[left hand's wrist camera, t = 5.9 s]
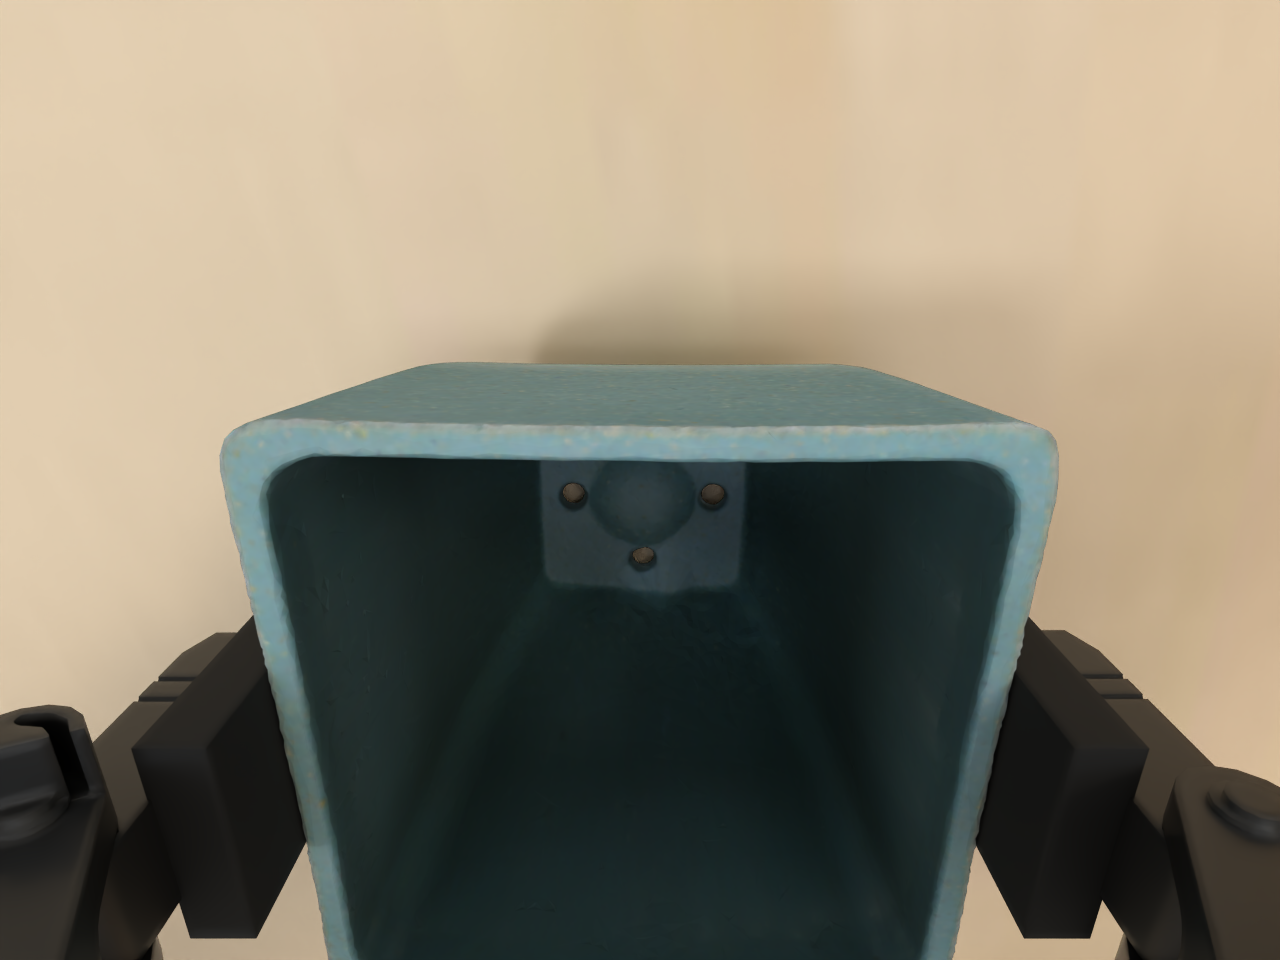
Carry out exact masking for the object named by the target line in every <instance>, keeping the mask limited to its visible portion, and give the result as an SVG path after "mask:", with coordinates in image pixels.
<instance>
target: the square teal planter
mask: <svg viewBox="0 0 1280 960" xmlns="http://www.w3.org/2000/svg"><path fill="white" fill-rule="evenodd" d="M220 472H221V477H222V481H223V485H224V490H225V497H226V502H227V506H228V510H229V514H230V523H231V527H232V531H233V534H234V538H235V542H236V545H237V548H238V550H239V553H240V560H241V566H242V570H243V573H244V577H245V581H246V586H247V593H248V596H249V598H250V601H251V609H252V611H253V614H254V619H255V624H256V629H257V634H258V638H259V641H260V645H261V648H262V649H263V655H264V658H265V666H266V668H267V669H268V679H269V683H270V685H271V691H272V695H273V697H274V700H275V703H276V709H277V714H278V718H279V729H280V731H281V733H282V736H283V738H284V749H285V753H286V757H287V760H288V764H289V769H290V773H291V776H292V779H293V782H294V786H295V790H296V795H297V801H298V806H299V810H300V813H301V817H302V822H303V830H304V834H305V837H306V842H307V846H308V853H307V854H308V855H309V861H310V864H311V869H312V875H313V879H314V882H315V886H316V891H317V896H318V902H319V909H320V912H321V916H322V922H323V933H324V939H325V944H326V948H327V953H328V959H329V960H952V958H953V955H954V952H955V945H956V940H957V934H958V931H959V926H960V918H961V916H962V914H963V906H964V901H965V896H966V893H967V885H968V881H969V874H970V866H971V863H972V858H973V853H974V849H975V848H976V837H977V834H978V832H979V823H980V817H981V814H982V811H983V808H984V803H985V800H986V794H987V787H988V783H989V780H990V777H991V773H992V764H993V757H994V752H995V749H996V746H997V742H998V738H999V732H1000V728H1001V727H1002V720H1003V718H1004V716H1005V713H1006V709H1007V703H1008V694H1009V690H1010V687H1011V684H1012V680H1013V675H1014V672H1015V670H1016V666H1017V659H1018V657H1019V656H1020V650H1021V648H1022V646H1023V644H1022V641H1023V638H1024V627H1025V624H1026V621H1027V618H1028V616H1029V612H1030V607H1031V603H1032V598H1033V594H1034V589H1035V584H1036V579H1037V576H1038V573H1039V570H1040V567H1041V563H1042V559H1043V552H1044V548H1045V545H1046V541H1047V536H1048V529H1049V526H1050V523H1051V518H1052V514H1053V509H1054V506H1055V503H1056V496H1057V487H1058V472H1059V454H1058V449H1057V443H1056V440H1055V439H1054V437H1053V436H1052V434H1051V433H1050V432H1049V431H1047V430H1045V429H1042V428H1039V427H1037V426H1034V425H1032V424H1030V423H1026V422H1023V421H1020V420H1017V419H1015V418H1012V417H1009V416H1006V415H1003V414H1000V413H998V412H995V411H992V410H989V409H986V408H983V407H981V406H978V405H975V404H972V403H969V402H967V401H964V400H961V399H958V398H955V397H953V396H950V395H947V394H944V393H941V392H938V391H936V390H933V389H930V388H927V387H924V386H922V385H919V384H916V383H913V382H910V381H907V380H904V379H901V378H898V377H894V376H891V375H888V374H885V373H881V372H878V371H875V370H871V369H867V368H863V367H855V366H847V365H837V364H774V365H602V364H521V363H485V362H454V363H438V364H430V365H424V366H419V367H415V368H411V369H408V370H405V371H401V372H398V373H394V374H391V375H388V376H385V377H381V378H378V379H375V380H372V381H369V382H366V383H364V384H361V385H358V386H355V387H352V388H349V389H345V390H342V391H339V392H336V393H333V394H330V395H327V396H324V397H322V398H319V399H316V400H313V401H310V402H307V403H304V404H302V405H299V406H296V407H293V408H290V409H287V410H284V411H281V412H278V413H275V414H272V415H269V416H266V417H263V418H260V419H257V420H254V421H251V422H249V423H246V424H244V425H242V426H240V427H238V428H236V429H234V430H233V431H232V432H231V433H230V434H229V435H228V436H227V437H226V438H225V439H224V442H223V445H222V448H221V453H220ZM570 483H577V484H579V485H581V486H582V487H583V489H584V491H585V494H584V497H583V499H582V500H581V501H579V502H578V503H573V502H569V501H567V500H566V498H565V497H564V495H563V489H564V487H565V486H566V485H568V484H570ZM710 484H716V485H719V486H721V487H722V488H723V490H724V497H723V499H722V500H721V501H720V502H718V503H717V504H709V503H706V502H705V501H704V500H703V499H702V496H701V492H702V490H703V488H705V487H706V486H707V485H710ZM643 547H649V548H650V549H652V550H653V552H654V557H653V559H652V560H651V561H650V562H648V563H638V562H637V561H635V559H634V558H633V552H634V551H635V550H637V549H639V548H643Z"/></svg>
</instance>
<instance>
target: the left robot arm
mask: <svg viewBox="0 0 1280 960" xmlns="http://www.w3.org/2000/svg"><path fill="white" fill-rule="evenodd" d="M1022 644H1023V646H1022V648H1021V650H1020V656H1019V657H1018V659H1017V666H1016V670H1015V672H1014V675H1013V680H1012V684H1011V687H1010V690H1009V694H1008V703H1007V709H1006V713H1005V716H1004V718H1003V720H1002V727H1001V728H1000V732H999V738H998V742H997V746H996V749H995V752H994V757H993V764H992V773H991V777H990V780H989V783H988V787H987V794H986V800H985V803H984V808H983V811H982V814H981V817H980V823H979V832H978V834H977V837H976V846H977V848H978V850H979V852H980V854H981V856H982V858H983V860H984V862H985V864H986V866H987V867H988V869H989V871H990V873H991V875H992V877H993V879H994V881H995V883H996V885H997V887H998V889H999V891H1000V893H1001V895H1002V897H1003V899H1004V900H1005V902H1006V904H1007V906H1008V908H1009V910H1010V912H1011V914H1012V916H1013V918H1014V920H1015V922H1016V924H1017V926H1018V928H1019V930H1020V932H1021V933H1022V935H1023V937H1024V938H1080V939H1090V937H1091V934H1092V931H1093V928H1094V924H1095V921H1096V918H1097V915H1098V912H1099V908H1100V905H1101V902H1102V900H1103V902H1104V903H1105V905H1106V906H1107V908H1108V909H1109V911H1110V912H1111V914H1112V915H1113V917H1114V918H1115V920H1116V921H1117V923H1118V925H1119V926H1120V928H1121V929H1122V931H1123V932H1124V934H1123V937H1122V940H1121V943H1120V946H1119V949H1118V952H1117V954H1116V957H1115V960H1280V787H1278V786H1276V785H1274V784H1273V783H1271V782H1269V781H1267V780H1264V779H1261V778H1259V777H1256V776H1253V775H1250V774H1247V773H1244V772H1242V771H1239V770H1235V769H1229V768H1223V767H1216V766H1214V765H1213V764H1212V763H1211V762H1210V761H1209V760H1208V759H1207V758H1206V757H1205V756H1204V755H1203V754H1202V753H1201V752H1200V751H1199V750H1198V749H1197V748H1196V747H1195V746H1194V745H1193V744H1192V743H1191V742H1190V741H1189V740H1188V739H1187V738H1186V737H1185V736H1184V735H1183V734H1182V733H1181V732H1180V731H1179V730H1178V729H1177V728H1176V727H1175V726H1174V725H1173V724H1172V723H1171V722H1170V721H1169V720H1168V719H1167V718H1166V717H1165V716H1164V715H1163V714H1162V713H1161V712H1160V711H1159V710H1158V709H1157V708H1156V707H1155V706H1154V705H1153V704H1152V703H1151V702H1150V701H1149V700H1148V699H1143V696H1142V693H1141V692H1140V691H1139V690H1138V689H1137V688H1136V687H1135V686H1134V685H1133V684H1132V683H1131V682H1130V681H1129V680H1128V679H1123V674H1122V673H1121V672H1120V671H1119V670H1118V669H1117V668H1116V667H1115V666H1114V665H1113V664H1112V663H1111V662H1110V661H1109V660H1108V659H1107V658H1106V657H1105V656H1104V655H1103V654H1102V653H1101V652H1100V651H1099V650H1097V649H1095V648H1094V647H1092V646H1090V645H1089V644H1087V643H1085V642H1084V641H1082V640H1080V639H1078V638H1077V637H1075V636H1073V635H1072V634H1070V633H1068V632H1067V631H1065V630H1040V629H1039V627H1038V626H1037V625H1036V624H1035V623H1034V622H1033V621H1032V620H1031V619H1030V618H1029V617H1028V618H1027V621H1026V624H1025V627H1024V638H1023V641H1022ZM305 843H306V837H305V834H304V830H303V822H302V817H301V813H300V810H299V806H298V801H297V795H296V790H295V786H294V782H293V779H292V776H291V773H290V769H289V764H288V760H287V757H286V753H285V749H284V738H283V736H282V733H281V731H280V729H279V718H278V714H277V709H276V703H275V700H274V697H273V695H272V691H271V685H270V683H269V679H268V669H267V668H266V666H265V658H264V655H263V649H262V648H261V645H260V641H259V638H258V634H257V629H256V624H255V619H254V615H253V616H252V617H251V618H250V619H249V620H248V621H247V623H246V624H245V625H244V626H243V627H242V628H241V629H240V630H239V631H238V632H237V633H215V634H213V635H212V636H210V637H208V638H207V639H205V640H203V641H202V642H200V643H198V644H197V645H195V646H193V647H192V648H190V649H188V650H186V651H185V652H183V653H182V654H181V655H180V656H179V657H178V658H177V659H176V660H175V661H174V662H173V663H172V664H171V665H170V666H169V667H168V668H167V669H166V670H165V671H164V672H163V673H162V674H161V675H160V676H159V680H158V681H154V682H153V683H152V684H151V685H150V686H149V687H148V688H147V689H146V690H145V691H144V692H143V693H142V694H141V695H140V696H139V700H138V702H133V703H132V704H131V705H130V706H129V707H128V708H127V709H126V710H125V711H124V712H123V713H122V714H121V715H120V716H119V717H118V718H117V719H116V720H115V721H114V722H113V723H112V724H111V725H110V726H109V727H108V728H107V729H106V730H105V731H104V732H103V733H102V734H101V735H100V736H99V737H98V738H97V739H96V740H95V741H94V742H93V743H92V740H91V737H90V734H89V731H88V728H87V725H86V722H85V720H84V717H83V715H82V714H81V713H79V712H78V711H76V710H75V709H73V708H72V707H67V706H57V705H44V706H37V707H30V708H23V709H18V710H15V711H12V712H9V713H5V714H2V715H0V960H163V955H162V949H161V946H160V943H159V940H158V937H157V935H158V934H159V932H160V931H161V929H162V928H163V926H164V925H165V923H166V922H167V920H168V919H169V917H170V915H171V914H172V912H173V911H174V909H175V908H176V906H177V905H178V903H180V907H181V910H182V913H183V916H184V919H185V923H186V926H187V929H188V932H189V935H190V938H257V936H258V934H259V932H260V930H261V929H262V927H263V925H264V923H265V921H266V919H267V917H268V915H269V913H270V911H271V909H272V907H273V905H274V903H275V901H276V899H277V897H278V896H279V894H280V892H281V890H282V888H283V886H284V884H285V882H286V880H287V878H288V876H289V874H290V872H291V870H292V868H293V866H294V864H295V863H296V861H297V859H298V857H299V855H300V853H301V851H302V849H303V847H304V845H305Z"/></svg>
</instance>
